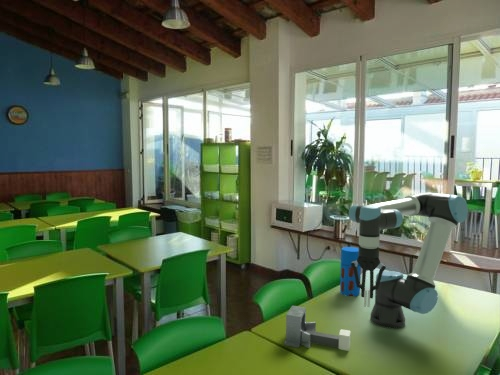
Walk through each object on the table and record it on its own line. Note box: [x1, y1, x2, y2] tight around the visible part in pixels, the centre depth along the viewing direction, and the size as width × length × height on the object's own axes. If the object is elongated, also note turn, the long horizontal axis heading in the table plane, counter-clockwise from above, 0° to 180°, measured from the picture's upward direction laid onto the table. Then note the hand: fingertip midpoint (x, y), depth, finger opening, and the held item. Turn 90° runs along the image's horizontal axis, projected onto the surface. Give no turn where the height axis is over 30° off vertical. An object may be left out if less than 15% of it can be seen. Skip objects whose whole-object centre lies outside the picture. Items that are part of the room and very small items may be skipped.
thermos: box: [339, 246, 362, 297], centre depth 207 cm, size 11×11×25 cm
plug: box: [305, 328, 352, 352], centre depth 152 cm, size 18×5×6 cm, turn 69°
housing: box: [283, 305, 317, 349], centre depth 155 cm, size 10×15×12 cm
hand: (366, 305), depth 145 cm, fingers closed
